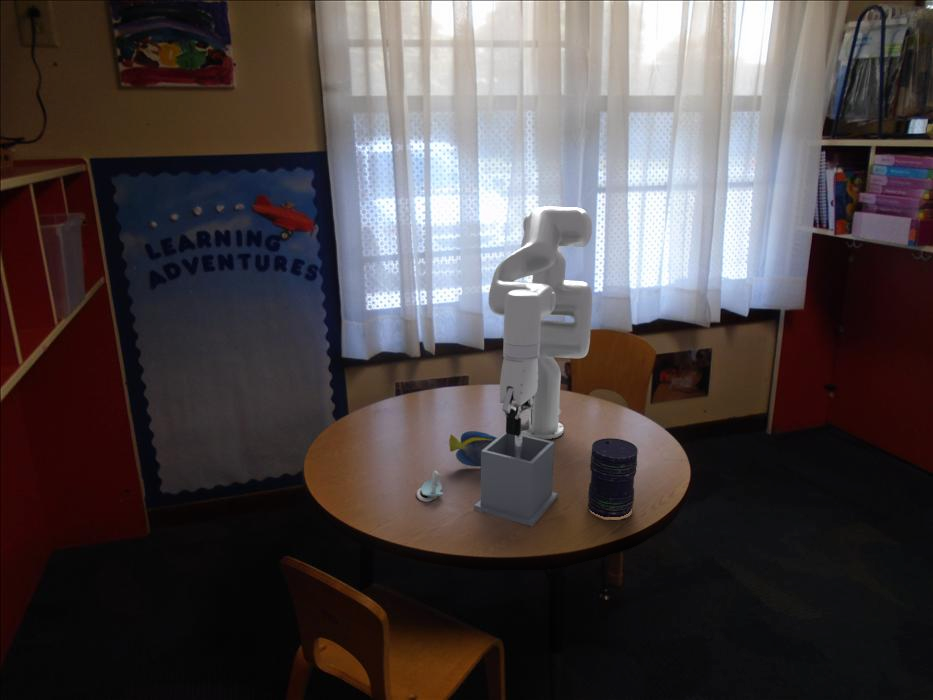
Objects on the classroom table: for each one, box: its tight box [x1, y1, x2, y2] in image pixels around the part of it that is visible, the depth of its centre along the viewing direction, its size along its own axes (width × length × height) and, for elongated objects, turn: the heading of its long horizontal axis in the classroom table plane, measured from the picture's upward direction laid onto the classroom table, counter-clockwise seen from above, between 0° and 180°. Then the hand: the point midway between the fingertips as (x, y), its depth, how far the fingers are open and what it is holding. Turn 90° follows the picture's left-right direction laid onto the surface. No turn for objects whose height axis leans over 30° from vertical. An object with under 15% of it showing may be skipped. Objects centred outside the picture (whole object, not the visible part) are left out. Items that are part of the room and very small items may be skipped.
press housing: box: [473, 430, 559, 528], centre depth 152 cm, size 14×14×14 cm
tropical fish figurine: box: [448, 430, 498, 468], centre depth 169 cm, size 16×3×10 cm, turn 86°
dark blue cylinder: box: [587, 437, 639, 517], centre depth 150 cm, size 10×10×15 cm
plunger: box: [511, 405, 531, 459], centre depth 150 cm, size 9×9×16 cm
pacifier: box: [416, 470, 444, 503], centre depth 156 cm, size 7×6×6 cm
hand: (518, 428), depth 149 cm, fingers closed on plunger, 5 cm apart
